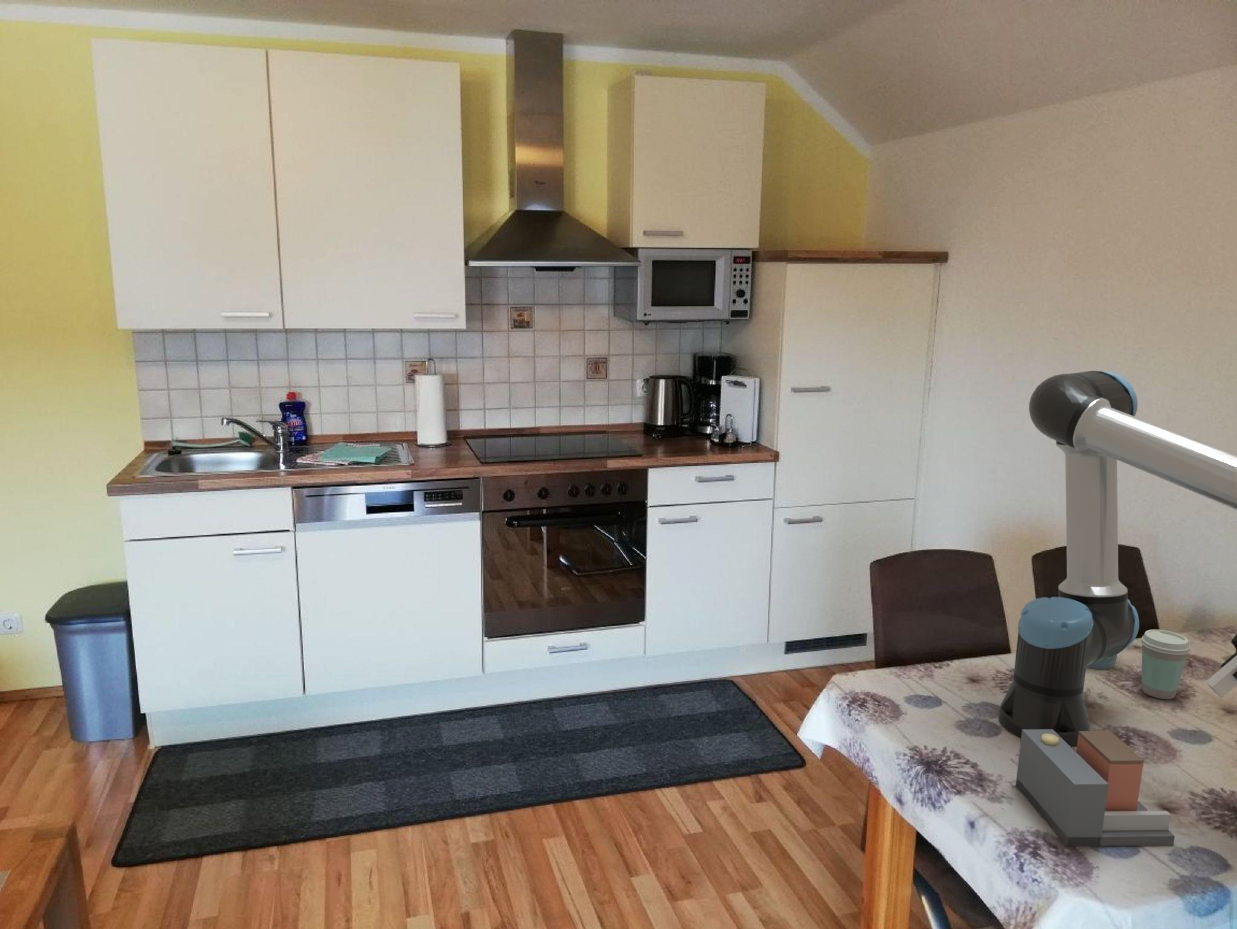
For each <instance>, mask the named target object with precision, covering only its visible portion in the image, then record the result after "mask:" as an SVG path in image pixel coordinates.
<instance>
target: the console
mask: <svg viewBox="0 0 1237 929" xmlns="http://www.w3.org/2000/svg"><path fill="white" fill-rule="evenodd" d="M1019 746H1020V747H1019V753H1018V762H1017V770H1016V771H1017V772H1016V779H1015V787H1016V788H1017V789H1018V790H1019V791H1020V793H1021V794H1022V795H1023V797H1025V799H1026V800H1027V801H1028V802H1029V803H1030V805H1031V806H1032V807H1033V808H1034V809H1035V811H1036V813H1037V814H1039V815H1040V817H1041V818H1042V819H1043V820H1044V821H1045V822H1046V824H1047V825H1048V826H1049V827H1050V829H1051V830H1052V831H1053V832H1054V833H1055V835H1057V837H1058V838H1059V840H1061V842H1062V843H1063V845H1065V846H1066V847H1119V846H1120V847H1123V846H1124V847H1125V846H1126V847H1129V846H1130V847H1133V846H1138V847H1140V846H1174V845H1175V838H1176V836H1175V835H1174V833H1173V832H1172V831H1170V830H1169V829H1170V825H1171V824H1170V823H1171V816H1172V815H1171V813H1170V812H1169V811H1167V810H1149V809H1147V808H1146V807H1145V806H1144V804H1142V803H1141V802H1140V801H1139V800H1138V804H1137V811H1105V807H1106V800H1107V793H1108V786H1109V784H1108V783H1107V782H1106V781H1105V780H1104V779H1103V778H1102V777H1101V776H1100V775H1099V774H1098V773H1097V772H1096V771H1095V770H1094V769H1093V768H1092V767H1091V766H1090V765H1089V764H1088V763H1087V762H1086V761H1085V760H1084V759H1082V758H1081V757H1080V756H1079V755H1078V754H1077V753H1076V750H1075V749H1073V747H1072V746H1069V745H1068V744H1067V743H1066V742H1065V741H1064V740H1063V739H1062V738H1061V737H1060V736H1059V735H1058V734H1057V733H1056V732H1055V731H1054V730H1053V729H1022V735H1021V737H1020V745H1019Z"/></svg>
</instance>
